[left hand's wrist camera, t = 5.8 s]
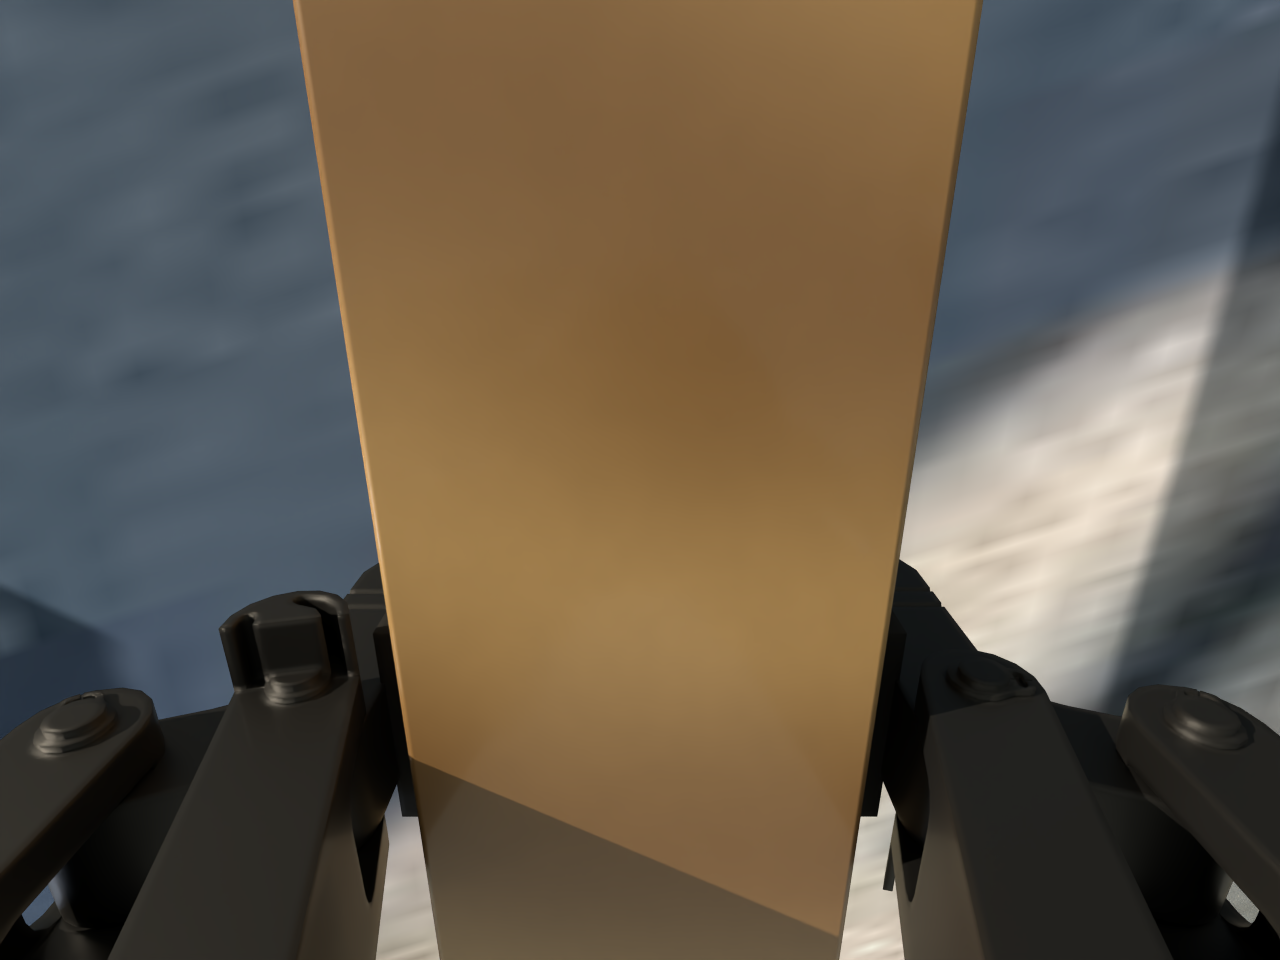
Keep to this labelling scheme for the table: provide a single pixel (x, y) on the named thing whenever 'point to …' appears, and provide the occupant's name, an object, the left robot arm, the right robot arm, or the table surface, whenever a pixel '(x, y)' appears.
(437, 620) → the beam
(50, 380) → the table surface
